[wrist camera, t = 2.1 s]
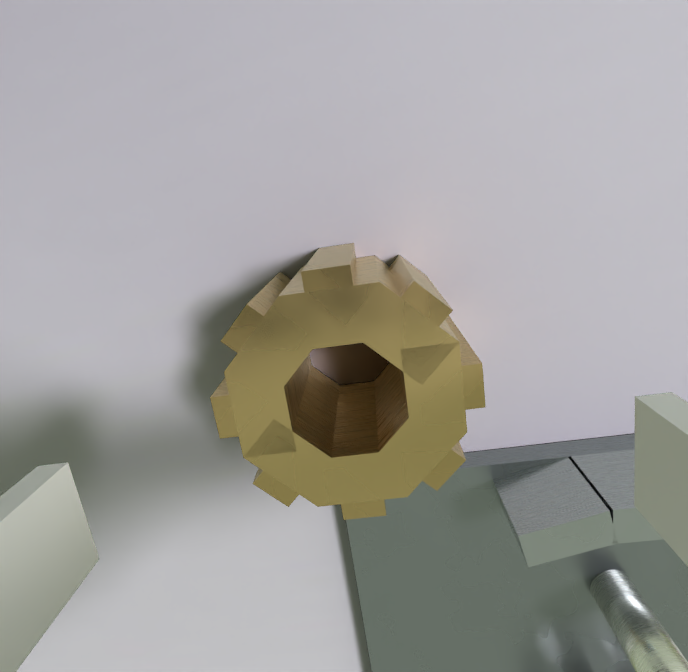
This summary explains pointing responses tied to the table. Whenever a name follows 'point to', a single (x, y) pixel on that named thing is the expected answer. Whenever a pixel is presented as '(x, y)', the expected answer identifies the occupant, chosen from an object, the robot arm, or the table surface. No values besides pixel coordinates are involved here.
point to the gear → (353, 399)
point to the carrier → (523, 569)
